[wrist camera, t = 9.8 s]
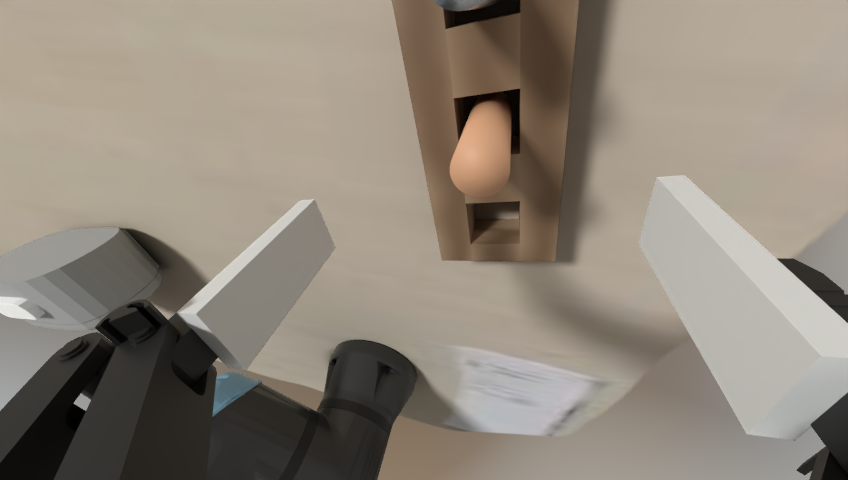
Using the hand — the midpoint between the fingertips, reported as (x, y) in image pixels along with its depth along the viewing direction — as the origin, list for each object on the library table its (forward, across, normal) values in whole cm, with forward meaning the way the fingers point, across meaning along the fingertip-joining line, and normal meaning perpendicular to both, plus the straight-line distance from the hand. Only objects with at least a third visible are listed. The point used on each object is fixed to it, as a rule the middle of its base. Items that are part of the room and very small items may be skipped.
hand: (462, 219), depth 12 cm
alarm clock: (+16, -59, -13) cm, 63 cm away
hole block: (+15, +1, 0) cm, 15 cm away
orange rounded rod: (+15, +1, 0) cm, 15 cm away
